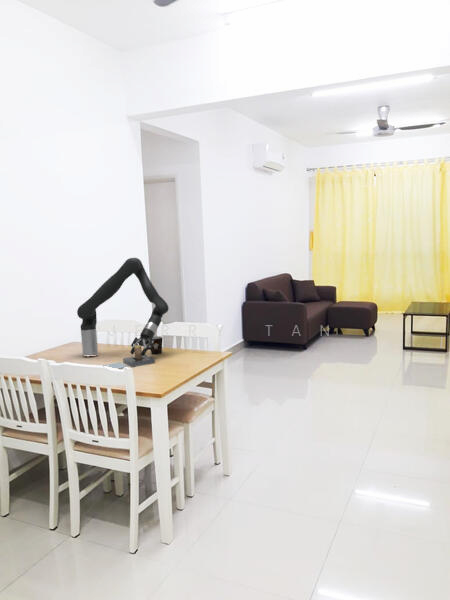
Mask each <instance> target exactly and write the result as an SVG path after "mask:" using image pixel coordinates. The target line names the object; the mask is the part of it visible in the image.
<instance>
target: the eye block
mask: <svg viewBox="0 0 450 600" xmlns="http://www.w3.org/2000/svg"><path fill="white" fill-rule="evenodd" d="M155 359H156V358H154V357H151V356H150V355H147V354H145V355H144V356H142V359H140V360H135V355H134V356H130V357H124V358H122V362H123V363H122V364H124V365H126V366H128V367H131V368H135V367H140V366H145V365H151V364H152V365H153V364H155V363H156V360H155Z"/></svg>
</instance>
